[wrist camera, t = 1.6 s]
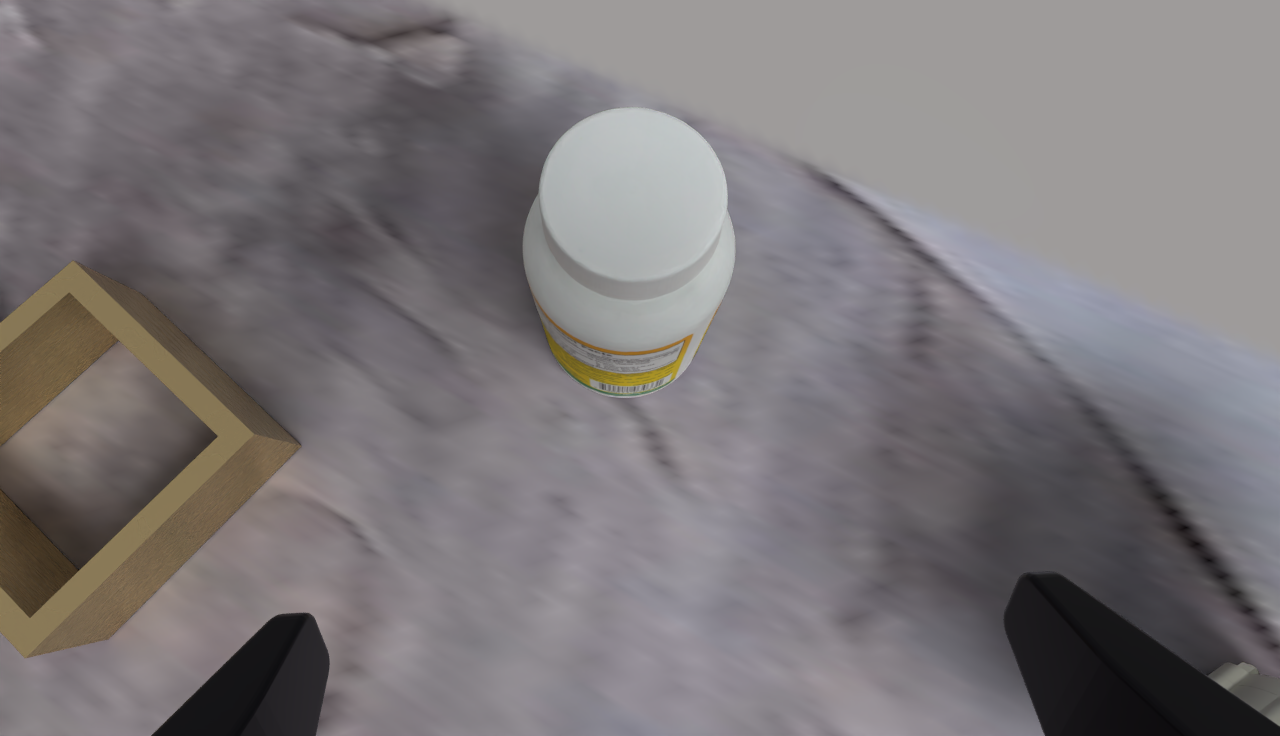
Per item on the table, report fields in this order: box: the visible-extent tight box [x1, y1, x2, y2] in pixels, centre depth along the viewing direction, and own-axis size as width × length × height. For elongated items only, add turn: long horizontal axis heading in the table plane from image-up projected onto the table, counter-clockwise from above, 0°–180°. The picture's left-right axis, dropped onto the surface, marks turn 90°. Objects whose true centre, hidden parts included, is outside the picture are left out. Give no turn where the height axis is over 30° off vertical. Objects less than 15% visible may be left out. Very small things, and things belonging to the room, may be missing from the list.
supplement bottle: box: [523, 107, 735, 398], centre depth 19 cm, size 5×5×10 cm
